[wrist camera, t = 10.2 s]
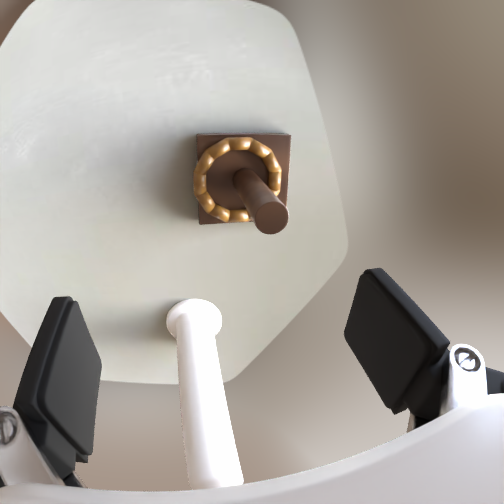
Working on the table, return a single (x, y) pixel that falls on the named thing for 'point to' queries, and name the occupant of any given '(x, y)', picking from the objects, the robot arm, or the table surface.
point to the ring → (219, 150)
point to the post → (247, 180)
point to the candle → (203, 397)
